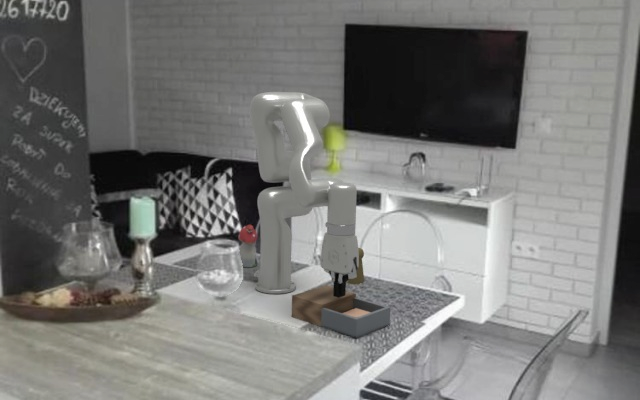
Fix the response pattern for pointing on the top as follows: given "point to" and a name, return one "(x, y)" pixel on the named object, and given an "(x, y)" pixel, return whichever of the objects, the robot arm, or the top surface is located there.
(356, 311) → the terracotta block
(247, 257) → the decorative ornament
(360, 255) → the cork
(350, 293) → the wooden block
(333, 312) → the box
